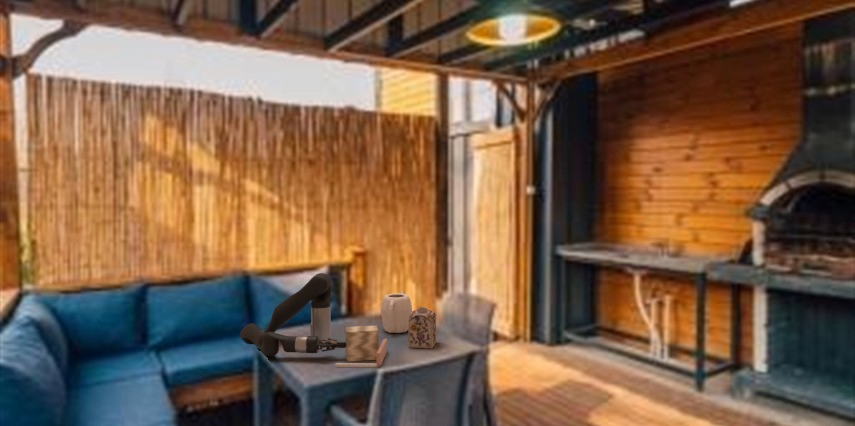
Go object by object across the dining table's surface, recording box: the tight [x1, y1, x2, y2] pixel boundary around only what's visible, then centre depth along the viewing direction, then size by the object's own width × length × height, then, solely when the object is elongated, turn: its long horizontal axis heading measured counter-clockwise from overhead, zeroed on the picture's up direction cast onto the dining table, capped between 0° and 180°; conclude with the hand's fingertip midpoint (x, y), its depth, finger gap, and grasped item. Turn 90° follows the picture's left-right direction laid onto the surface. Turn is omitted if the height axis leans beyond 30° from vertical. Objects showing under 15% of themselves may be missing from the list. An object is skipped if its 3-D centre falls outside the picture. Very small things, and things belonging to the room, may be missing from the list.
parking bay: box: [335, 338, 388, 368], centre depth 271 cm, size 19×23×6 cm
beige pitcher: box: [380, 290, 413, 334], centre depth 320 cm, size 16×27×19 cm, turn 168°
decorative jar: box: [407, 306, 437, 349], centre depth 291 cm, size 12×12×18 cm
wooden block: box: [344, 324, 380, 362], centre depth 273 cm, size 14×9×13 cm, turn 100°
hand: (345, 345), depth 270 cm, fingers closed
